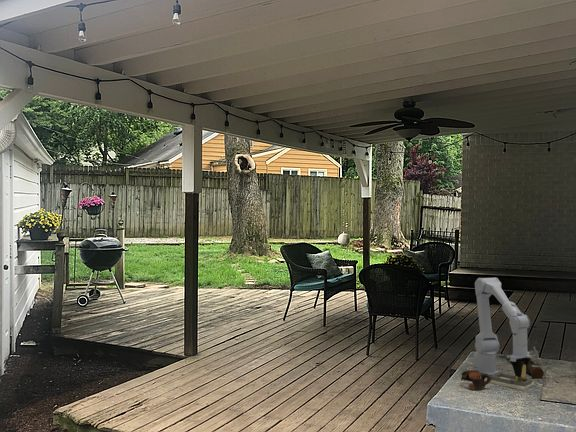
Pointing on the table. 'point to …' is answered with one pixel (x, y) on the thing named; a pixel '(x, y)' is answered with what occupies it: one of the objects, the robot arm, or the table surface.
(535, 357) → the bike brake
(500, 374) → the keyhole plate
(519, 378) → the brass peg
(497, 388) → the table surface
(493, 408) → the table surface
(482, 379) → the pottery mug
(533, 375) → the bolt
